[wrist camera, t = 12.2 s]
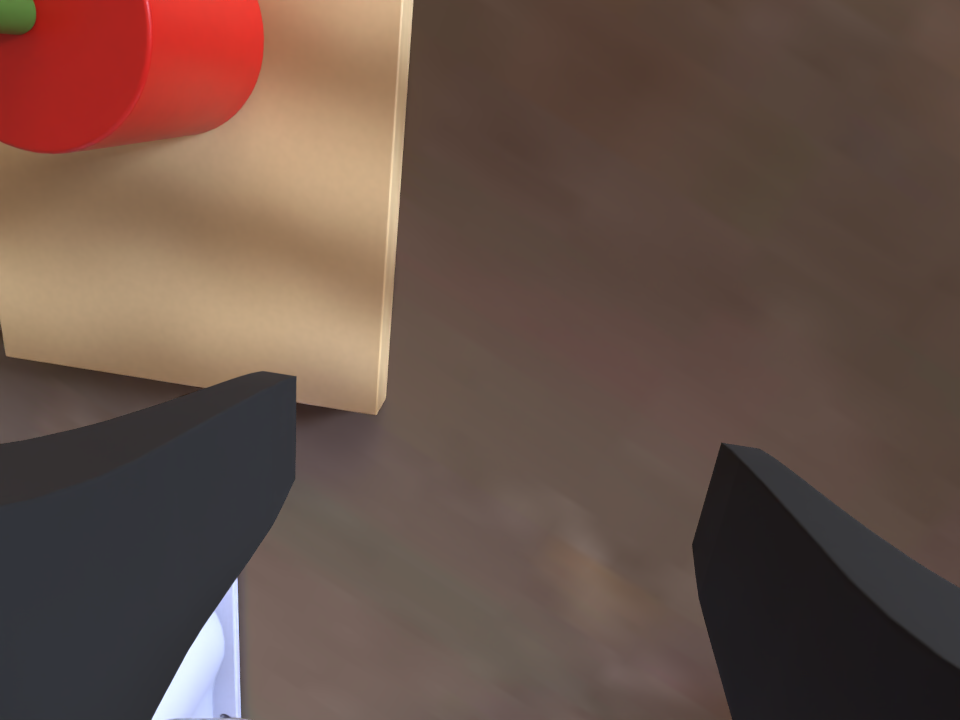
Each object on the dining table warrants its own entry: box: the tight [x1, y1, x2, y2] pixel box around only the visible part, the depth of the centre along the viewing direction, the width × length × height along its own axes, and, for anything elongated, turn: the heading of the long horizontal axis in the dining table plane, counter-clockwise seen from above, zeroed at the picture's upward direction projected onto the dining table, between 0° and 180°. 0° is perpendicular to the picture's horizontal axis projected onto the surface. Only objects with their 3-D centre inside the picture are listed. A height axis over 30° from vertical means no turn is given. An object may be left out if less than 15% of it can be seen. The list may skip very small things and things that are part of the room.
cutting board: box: [0, 0, 413, 415], centre depth 18 cm, size 20×12×1 cm, turn 173°
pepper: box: [0, 0, 264, 154], centre depth 14 cm, size 5×5×7 cm
